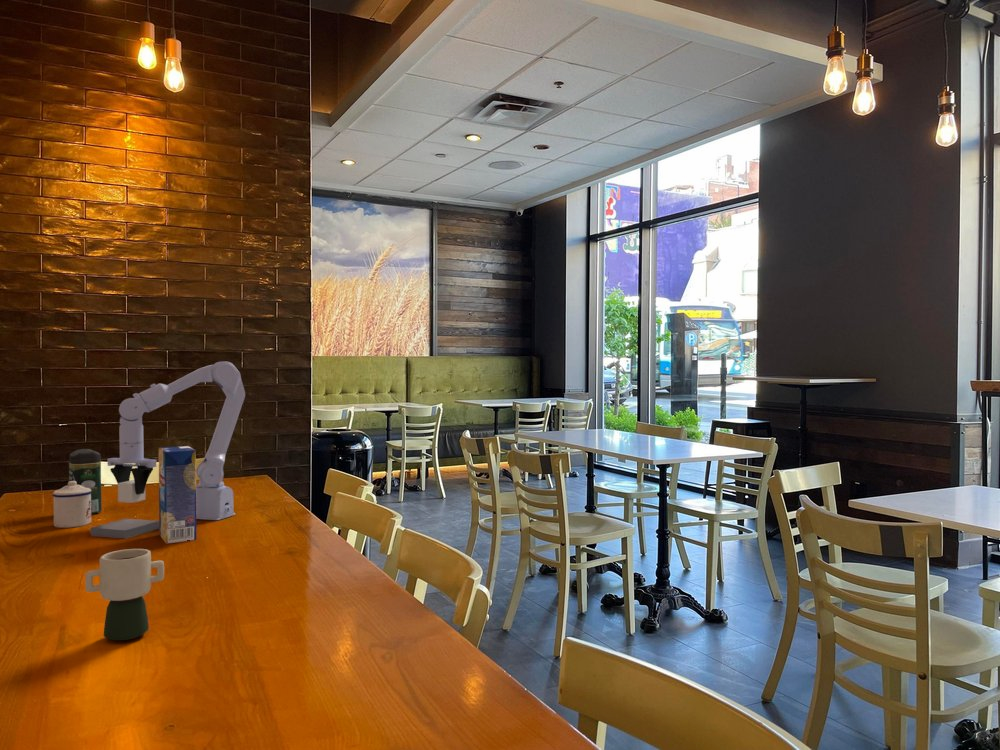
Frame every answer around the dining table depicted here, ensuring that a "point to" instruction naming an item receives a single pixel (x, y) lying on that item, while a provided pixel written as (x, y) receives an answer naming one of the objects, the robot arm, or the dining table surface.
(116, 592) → the character mug
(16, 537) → the dining table surface
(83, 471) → the coffee jar
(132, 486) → the cream cube
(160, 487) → the beverage box
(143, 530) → the slate block
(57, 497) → the teacup with lid
